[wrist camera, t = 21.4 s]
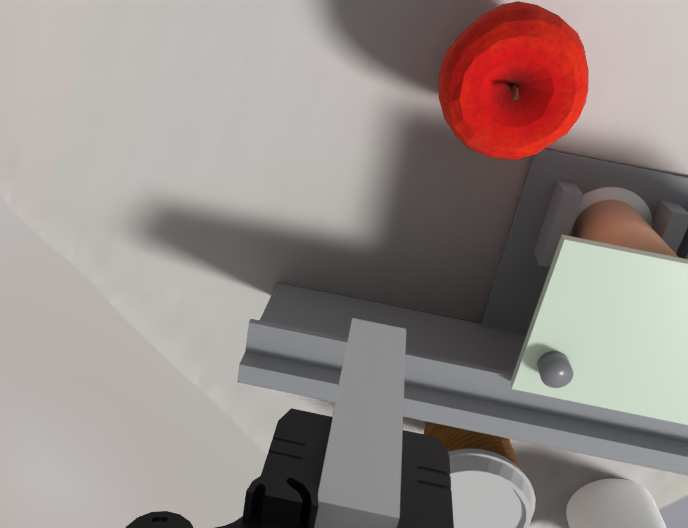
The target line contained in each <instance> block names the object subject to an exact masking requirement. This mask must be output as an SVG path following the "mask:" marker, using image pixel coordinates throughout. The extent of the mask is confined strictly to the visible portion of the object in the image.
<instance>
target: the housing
mask: <svg viewBox="0 0 688 528" xmlns="http://www.w3.org/2000/svg"><path fill="white" fill-rule="evenodd" d="M609 199H614V200H620V201H623V202H625V203H627V204H629V205H631V206H632V207H633V208H634V209H635V210H636V211H637V212H638V213H639V215H640V216H641V217H642V218H643V219H644V220H645V221H646V222H647V223H648V224H649V225H650V226H651V228H652V229H653V230H654V231H655V232H656V233H657V234H658V235H659V236H660V237H661V238H662V240H663V241H664V242H665V243H666V244H667V245H668V246H669V247H670V248H671V249H672V250H673V251H674V253H675V254H676V255H677V256H678V257H679V258H683V259H688V177H685V176H679V175H674V174H669V173H664V172H659V171H654V170H649V169H644V168H638V167H633V166H628V165H623V164H618V163H613V162H608V161H602V160H597V159H592V158H587V157H582V156H577V155H572V154H567V153H561V152H556V151H551V150H546V149H543V150H542V151H540V152H539V153H537V154H535V155H533V158H532V161H531V165H530V168H529V171H528V174H527V178H526V181H525V184H524V187H523V190H522V194H521V197H520V200H519V203H518V207H517V210H516V213H515V216H514V220H513V223H512V226H511V229H510V233H509V236H508V239H507V242H506V245H505V249H504V252H503V255H502V258H501V262H500V265H499V268H498V271H497V275H496V278H495V281H494V284H493V287H492V291H491V294H490V297H489V300H488V304H487V307H486V310H485V313H484V317H483V320H482V323H481V324H480V323H475V322H470V321H465V320H460V319H455V318H450V317H445V316H440V315H435V314H430V313H426V312H421V311H416V310H411V309H406V308H401V307H396V306H391V305H386V304H381V303H376V302H371V301H366V300H361V299H357V298H352V297H347V296H342V295H337V294H332V293H327V292H322V291H317V290H312V289H307V288H302V287H297V286H292V285H288V284H283V283H278V282H277V284H276V287H275V289H274V291H273V293H272V295H271V297H270V300H269V302H268V304H267V306H266V308H265V310H264V313H263V315H262V317H261V319H260V321H259V320H254V319H250V321H249V327H248V335H247V343H246V352H245V354H244V356H243V358H242V360H241V362H240V365H239V374H238V382H239V383H244V384H249V385H254V386H259V387H263V388H268V389H273V390H278V391H283V392H287V393H292V394H297V395H302V396H307V397H312V398H316V399H321V400H326V401H331V402H335V401H336V396H337V391H338V386H339V381H340V376H341V371H342V366H343V361H344V356H345V352H346V347H347V342H348V337H349V332H350V327H351V322H352V318H355V319H360V320H365V321H370V322H375V323H380V324H385V325H389V326H394V327H399V328H404V329H406V350H405V378H404V406H403V417H408V418H413V419H418V420H422V421H427V422H432V423H437V424H442V425H446V426H451V427H456V428H461V429H466V430H471V431H475V432H480V433H485V434H490V435H495V436H499V437H504V438H509V439H514V440H519V441H524V442H528V443H533V444H538V445H543V446H548V447H552V448H557V449H562V450H567V451H572V452H577V453H581V454H586V455H591V456H596V457H601V458H605V459H610V460H615V461H620V462H625V463H630V464H634V465H639V466H644V467H649V468H654V469H658V470H663V471H668V472H673V473H678V474H683V475H687V476H688V425H685V424H680V423H675V422H670V421H665V420H661V419H656V418H651V417H646V416H641V415H636V414H631V413H627V412H622V411H617V410H612V409H607V408H602V407H597V406H592V405H588V404H583V403H578V402H573V401H568V400H563V399H558V398H553V397H549V396H544V395H539V394H534V393H529V392H524V391H519V390H515V389H512V388H511V383H510V381H511V378H512V375H513V372H514V370H515V367H516V364H517V361H518V358H519V355H520V352H521V350H522V347H523V344H524V341H525V338H526V335H527V332H528V330H529V327H530V324H531V321H532V318H533V315H534V312H535V310H536V307H537V304H538V301H539V298H540V295H541V292H542V289H543V287H544V284H545V281H546V278H547V275H548V272H549V269H550V267H551V264H552V261H553V258H554V255H555V252H556V249H557V247H558V244H559V241H560V238H561V235H567V236H572V231H573V226H574V223H575V221H576V219H577V217H578V216H579V214H580V213H581V212H582V211H583V210H584V209H586V208H587V207H588V206H590V205H591V204H593V203H596V202H598V201H602V200H609Z"/></svg>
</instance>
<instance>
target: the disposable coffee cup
mask: <svg viewBox="0 0 688 528" xmlns="http://www.w3.org/2000/svg"><path fill="white" fill-rule="evenodd" d="M424 435H428V436H433V437H438V438H440V440H441V441H442V443H443V445H444V447H445V448H446V450H447V452H448V454H449V459H450V476H451V491H452V506H453V522H454V528H529V526H530V522H531V519H532V516H533V513H534V511H535V501H536V497H535V494H534V490H533V487H532V485H531V482H530V480H529V479H528V478H527V476H526V475H525V474H524V473H523V472H522V471H521V469H520V467H519V464H518V462H517V459H516V456H515V453H514V451H513V448H512V445H511V443H510V440H509V438H504V437H499V436H495V435H490V434H485V433H480V432H475V431H471V430H466V429H461V428H456V427H451V426H446V425H442V424H437V423H432V422H427V421H426V425H425V430H424Z"/></svg>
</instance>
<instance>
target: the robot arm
mask: <svg viewBox="0 0 688 528" xmlns="http://www.w3.org/2000/svg"><path fill="white" fill-rule="evenodd" d="M405 350H406V329H404V328H399V327H394V326H389V325H385V324H380V323H375V322H370V321H365V320H360V319H355V318H352V322H351V327H350V332H349V337H348V342H347V347H346V352H345V356H344V361H343V366H342V371H341V376H340V381H339V386H338V391H337V396H336V401H335V406H334V411H333V416H332V417H330V416H325V415H320V414H315V413H311V412H306V411H301V410H296V409H290V410H289V411H288V412H287V413H286V414H285V415H284V416H283V417H282V418H281V419H280V420H279V421H278V423H277V426H276V430H275V433H274V436H273V440H272V442H271V445H270V449H269V453H268V455H267V458H266V461H265V464H264V468H263V471H262V474H261V476H260V477H258V478H257V479H255V480H254V481H252V483H251V485H250V486H249V488H248V489H247V491H246V497H245V505H244V512H243V516H242V517H241V518H239V519H238V520H237V521H235V522H233V523H230V524H228V525H226V526H222V527H216V528H454V522H453V506H452V491H451V476H450V459H449V454H448V452H447V450H446V448H445V447H444V445H443V443H442V441H441V440H440V438H438V437H433V436H428V435H424V434H419V433H414V432H409V431H404V430H403V406H404V378H405ZM126 528H193V526H192V524H191V523H190V521H188V520H187V519H185V518H184V517H182V516H181V515H180V514H176V513H172V512H167V511H162V512H151V513H148V514H146V515H143V516H140V517H138V518H137V519H135V520H134V521H133V522H132V523H131V524H129V525H128V526H127V527H126Z"/></svg>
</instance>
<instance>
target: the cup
mask: <svg viewBox="0 0 688 528" xmlns="http://www.w3.org/2000/svg"><path fill="white" fill-rule="evenodd" d="M566 516H567V520H568V524H569V528H666V526H665V523H664V521H663V519H662V517H661V515H660V512H659V510H658V508H657V506H656V503H655V501H654V499H653V497H652V496H651V494H650V493H649V491H647V490H646V489H645V488H644V487H643V486H641V485H639V484H637V483H635V482H632V481H630V480H625V479H617V478H609V479H601V480H597V481H593V482H591V483H589V484H586V485H585V486H583V487H581V488H580V489H578V490H577V491H576V492H575V493H574V494H573V495H572V497H571V498H570V499H569V502H568V504H567V508H566Z"/></svg>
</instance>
